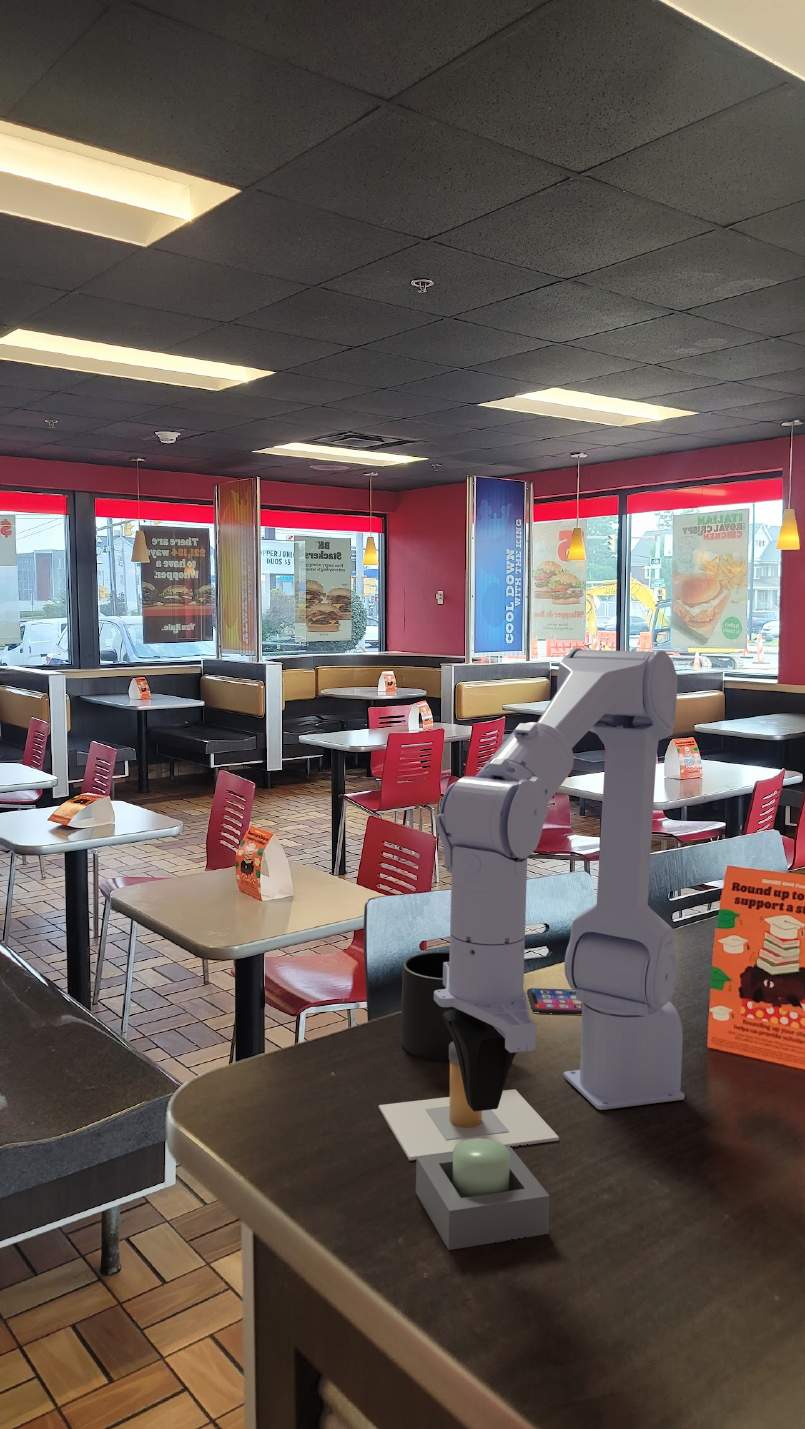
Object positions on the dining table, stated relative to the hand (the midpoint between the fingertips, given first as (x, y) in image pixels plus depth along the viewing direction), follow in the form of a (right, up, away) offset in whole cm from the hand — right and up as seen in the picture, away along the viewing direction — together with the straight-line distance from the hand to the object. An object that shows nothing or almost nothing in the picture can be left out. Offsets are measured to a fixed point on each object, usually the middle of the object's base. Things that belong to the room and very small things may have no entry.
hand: (482, 1106), depth 80 cm
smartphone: (+17, -6, +47) cm, 50 cm away
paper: (0, -7, +15) cm, 17 cm away
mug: (0, -6, +33) cm, 33 cm away
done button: (0, -7, +1) cm, 7 cm away
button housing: (0, -9, +1) cm, 9 cm away
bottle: (0, -7, +15) cm, 17 cm away
